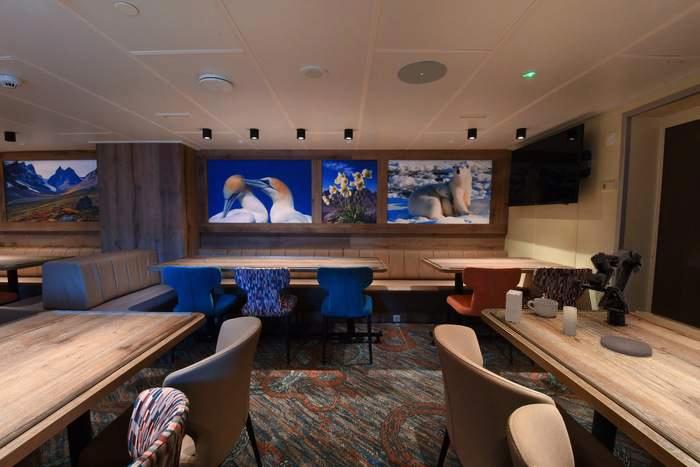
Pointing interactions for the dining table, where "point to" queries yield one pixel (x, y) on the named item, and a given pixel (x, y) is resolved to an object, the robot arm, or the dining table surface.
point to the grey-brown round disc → (626, 346)
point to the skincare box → (513, 306)
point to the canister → (569, 320)
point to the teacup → (544, 307)
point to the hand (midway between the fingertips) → (586, 303)
